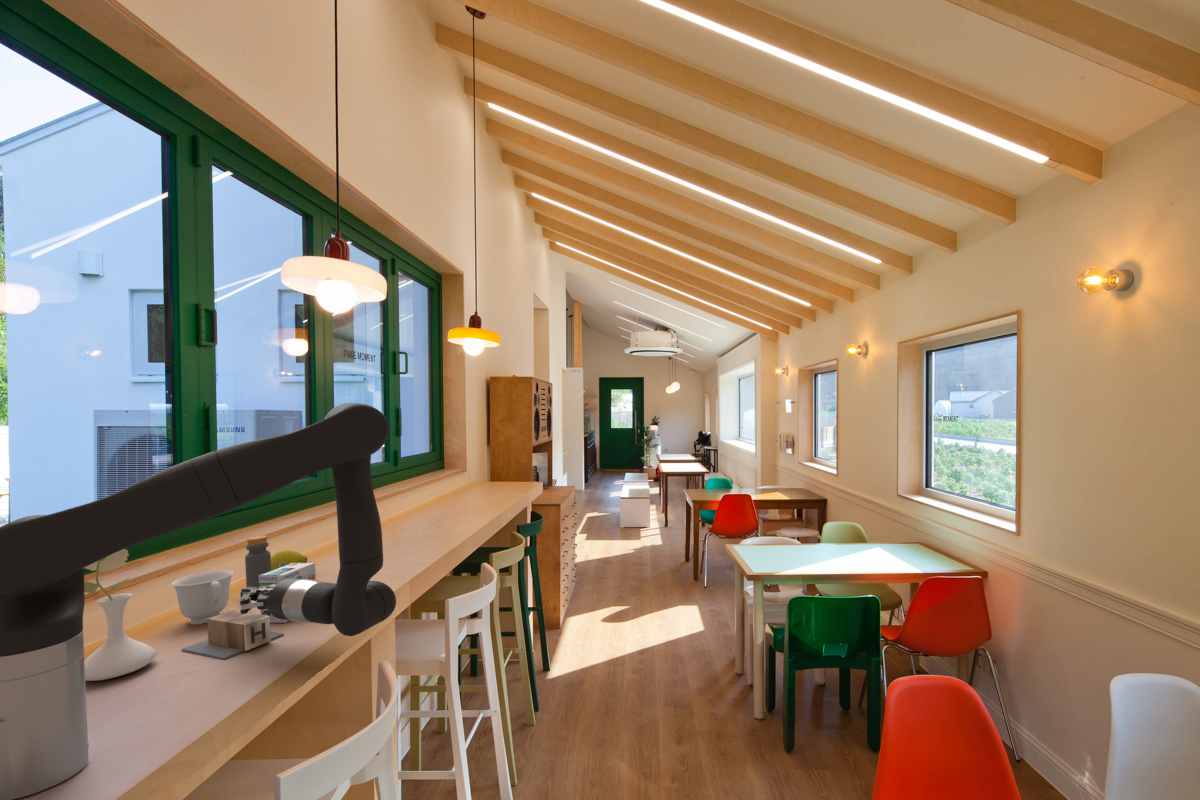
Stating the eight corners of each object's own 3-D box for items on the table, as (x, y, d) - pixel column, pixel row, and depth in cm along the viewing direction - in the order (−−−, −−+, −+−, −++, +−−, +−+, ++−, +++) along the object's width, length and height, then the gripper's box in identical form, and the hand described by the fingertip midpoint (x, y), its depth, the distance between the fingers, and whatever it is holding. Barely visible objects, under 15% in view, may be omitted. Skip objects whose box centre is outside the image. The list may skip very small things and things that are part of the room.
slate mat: (283, 635, 116) (283, 633, 116) (224, 659, 106) (224, 657, 106) (242, 628, 122) (242, 626, 123) (181, 650, 112) (181, 648, 112)
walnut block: (244, 624, 108) (207, 618, 114) (246, 650, 108) (208, 643, 114) (269, 615, 113) (232, 610, 118) (271, 640, 113) (233, 634, 118)
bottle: (248, 593, 150) (245, 537, 151) (273, 588, 153) (270, 533, 153) (245, 598, 145) (242, 541, 145) (271, 594, 147) (268, 537, 148)
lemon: (260, 583, 159) (259, 555, 159) (275, 575, 167) (274, 549, 167) (299, 580, 160) (297, 552, 160) (312, 573, 167) (310, 546, 168)
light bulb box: (285, 623, 124) (282, 575, 124) (259, 623, 125) (256, 575, 125) (318, 606, 134) (316, 561, 135) (294, 606, 136) (292, 562, 136)
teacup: (187, 636, 120) (185, 589, 120) (165, 624, 129) (163, 580, 129) (249, 617, 129) (247, 574, 130) (225, 607, 138) (223, 567, 139)
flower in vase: (172, 657, 109) (166, 528, 109) (120, 686, 97) (113, 542, 98) (107, 661, 109) (101, 533, 110) (47, 690, 98) (41, 546, 98)
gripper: (331, 570, 111) (275, 565, 118) (267, 591, 99) (208, 584, 106) (333, 608, 111) (276, 601, 118) (269, 633, 99) (210, 623, 106)
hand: (244, 593), depth 112 cm, fingers closed
